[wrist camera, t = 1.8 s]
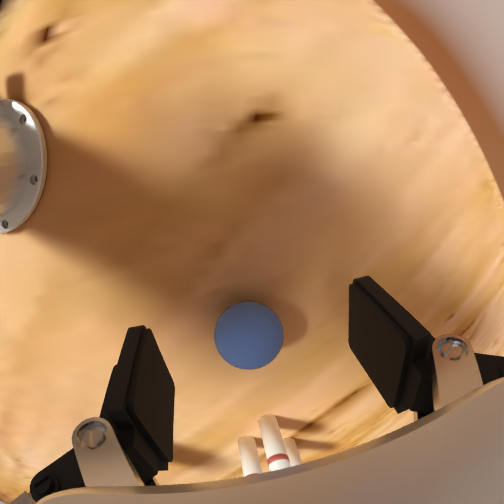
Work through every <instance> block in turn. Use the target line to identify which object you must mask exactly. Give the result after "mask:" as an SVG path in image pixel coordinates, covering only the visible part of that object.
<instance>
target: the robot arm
mask: <svg viewBox="0 0 504 504" xmlns="http://www.w3.org/2000/svg"><path fill="white" fill-rule="evenodd" d="M26 119H27V120H26ZM46 173H47V148H46V141H45V137H44V133H43V130H42V127H41V125H40V123H39V121H38V119H37V117H36V116H35V114H34V113H33V112H32V110H31V109H29V108H28V107H27V106H26V105H25V104H23V103H21V102H19V101H17V100H12V99H0V234H2V233H7V232H9V231H11V230H13V229H15V228H17V227H18V226H20V225H21V224H23V223H24V222H25V221H26V220H27V219H28V218H29V217H30V215H31V214H32V212H33V211H34V209H35V208H36V206H37V204H38V202H39V200H40V197H41V195H42V191H43V188H44V185H45V179H46ZM37 178H38V181H37ZM349 346H350V348H351V350H352V352H353V353H354V355H355V356H356V358H357V359H358V361H359V362H360V364H361V365H362V367H363V368H364V370H365V371H366V373H367V374H368V376H369V377H370V379H371V380H372V382H373V383H374V385H375V386H376V388H377V389H378V391H379V392H380V394H381V395H382V397H383V398H384V400H385V402H386V403H387V405H388V406H389V407H390V408H393V407H394V408H395V410H396V411H397V413H398V414H399V413H401V412H403V411H405V410H407V409H410V410H411V411H414V422H413V423H411V424H409V425H406V426H404V427H402V428H400V429H398V430H396V431H393V432H391V433H389V434H386V435H384V436H382V437H379V438H377V439H374V440H372V441H369V442H367V443H364V444H361V445H359V446H356V447H353V448H351V449H348V450H345V451H342V452H339V453H336V454H333V455H330V456H327V457H324V458H320V459H317V460H314V461H310V462H307V463H303V464H299V465H296V466H292V467H288V468H284V469H279V470H275V471H270V472H266V473H261V474H256V475H250V476H245V477H239V478H233V479H226V480H219V481H211V482H202V483H191V484H178V485H159V484H158V482H157V480H156V479H155V477H154V476H155V475H157V474H158V471H164V470H168V462H172V460H173V421H174V396H175V386H174V382H173V379H172V377H171V375H170V373H169V371H168V368H167V366H166V364H165V362H164V359H163V357H162V355H161V352H160V350H159V348H158V345H157V343H156V340H155V338H154V335H153V333H152V331H151V329H150V328H148V329H146V327H145V326H144V325H142V326H136V327H130V328H129V329H128V331H127V334H126V337H125V340H124V343H123V347H122V350H121V353H120V356H119V360H118V363H117V365H115V366H114V368H113V370H112V374H111V377H110V380H109V384H108V387H107V391H106V395H105V398H104V402H103V406H102V409H101V413H100V417H95V418H89V419H86V420H85V421H83V422H81V423H80V424H79V425H78V426H77V427H76V428H75V430H74V432H73V435H72V444H73V449H71V450H70V451H68V452H67V453H66V454H64V455H63V456H61V457H60V458H59V459H57V460H56V461H54V462H53V463H52V464H50V465H49V466H47V467H46V468H44V469H43V470H41V471H40V472H39V473H37V474H36V475H35V476H34V478H33V479H32V481H31V484H30V493H27V492H26V491H25V492H24V493H22V494H21V495H20V496H19V497H17V498H16V499H15V500H14V501H12V502H11V503H10V504H504V357H502V356H494V355H486V354H479V353H474V351H473V348H472V346H471V344H470V342H469V341H468V340H466V339H465V338H463V337H461V336H459V335H455V334H446V335H442V336H440V337H438V338H437V339H435V338H434V337H433V336H432V335H431V333H430V332H429V331H428V330H427V329H425V328H424V327H423V326H422V325H421V324H420V323H419V322H418V321H417V320H416V319H415V318H414V317H413V316H412V315H411V314H410V313H409V312H408V311H407V310H406V309H404V308H403V307H402V306H401V305H400V304H399V303H398V302H397V301H396V300H395V299H394V298H393V297H392V296H390V295H389V294H388V293H387V292H386V291H385V290H384V289H383V288H382V287H381V286H379V285H378V284H377V283H376V282H375V281H374V280H373V279H372V278H371V277H369V276H365V277H361V278H357V279H354V280H353V284H350V285H349Z"/></svg>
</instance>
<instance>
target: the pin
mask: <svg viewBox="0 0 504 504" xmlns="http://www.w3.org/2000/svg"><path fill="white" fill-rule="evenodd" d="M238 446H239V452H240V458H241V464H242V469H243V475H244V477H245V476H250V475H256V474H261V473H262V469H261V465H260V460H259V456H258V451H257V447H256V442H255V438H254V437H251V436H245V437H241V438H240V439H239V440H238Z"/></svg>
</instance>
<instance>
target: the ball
mask: <svg viewBox="0 0 504 504" xmlns="http://www.w3.org/2000/svg"><path fill="white" fill-rule="evenodd" d="M283 337H284V336H283V328H282V324H281V322H280V320H279V318H278V317H277V315H276V314H275V313H274V312H273V311H272V310H271V309H270V308H268V307H267V306H265V305H263V304H260V303H257V302H241V303H237V304H235V305H233V306H231V307H229V308H228V309H227V310H226V311H225V312H223V314H222V315H221V316H220V318H219V319H218V321H217V323H216V327H215V332H214V339H215V344H216V347H217V350H218V352H219V353H220V355H221V356H222V357H223V359H224V360H226V361H227V362H228V363H229V364H231V365H233V366H235V367H237V368H241V369H257V368H261V367H263V366H265V365H267V364H268V363H270V362H271V361H272V360H273V359H274V358H275V357H276V356H277V355H278V353H279V351H280V349H281V347H282V344H283Z"/></svg>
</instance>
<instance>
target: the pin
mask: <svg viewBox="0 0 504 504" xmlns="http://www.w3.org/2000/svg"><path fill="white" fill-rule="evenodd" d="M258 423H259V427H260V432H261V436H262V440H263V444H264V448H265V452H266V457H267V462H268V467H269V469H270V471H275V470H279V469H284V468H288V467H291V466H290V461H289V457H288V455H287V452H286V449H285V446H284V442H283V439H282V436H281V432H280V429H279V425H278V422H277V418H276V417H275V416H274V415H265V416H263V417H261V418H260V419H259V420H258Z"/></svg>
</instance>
